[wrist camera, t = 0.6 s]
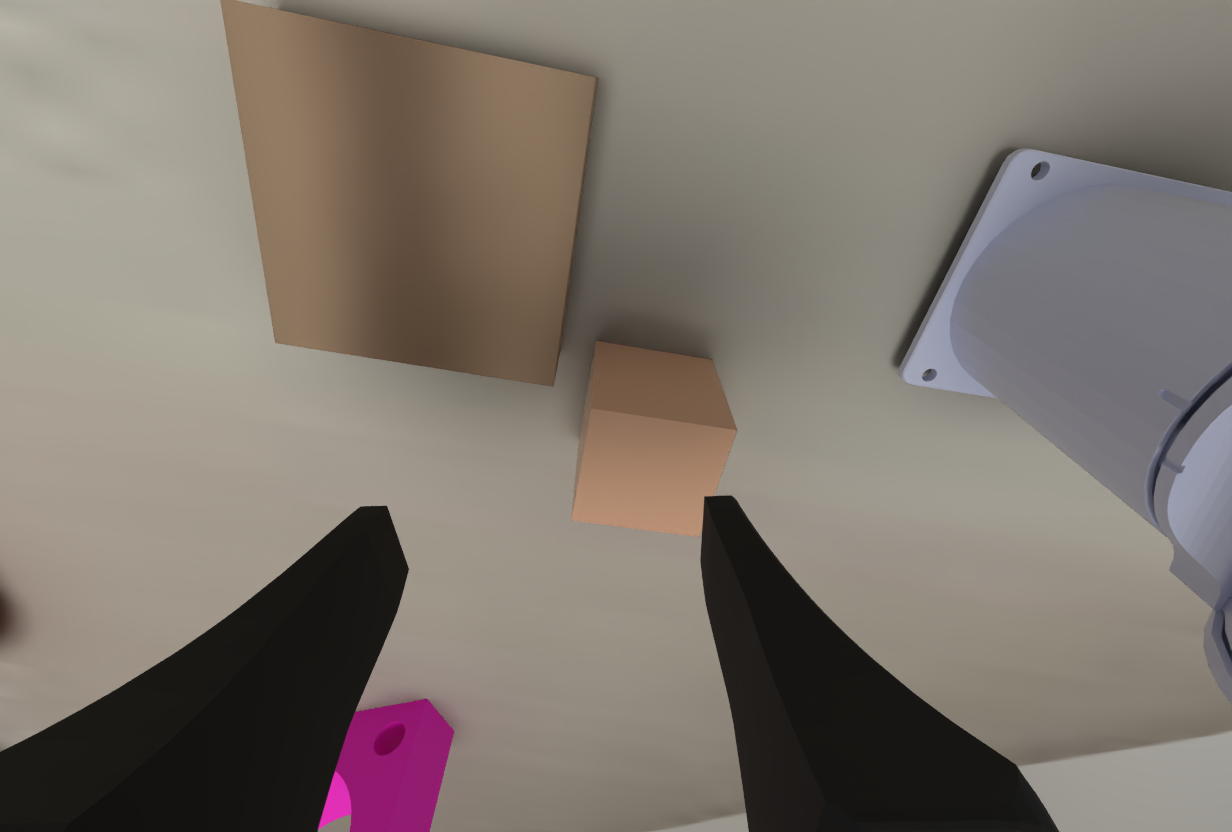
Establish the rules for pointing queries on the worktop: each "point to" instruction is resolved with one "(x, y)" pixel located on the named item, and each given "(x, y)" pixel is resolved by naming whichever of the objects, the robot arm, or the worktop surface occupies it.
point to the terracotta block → (650, 440)
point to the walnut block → (410, 192)
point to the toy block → (390, 769)
